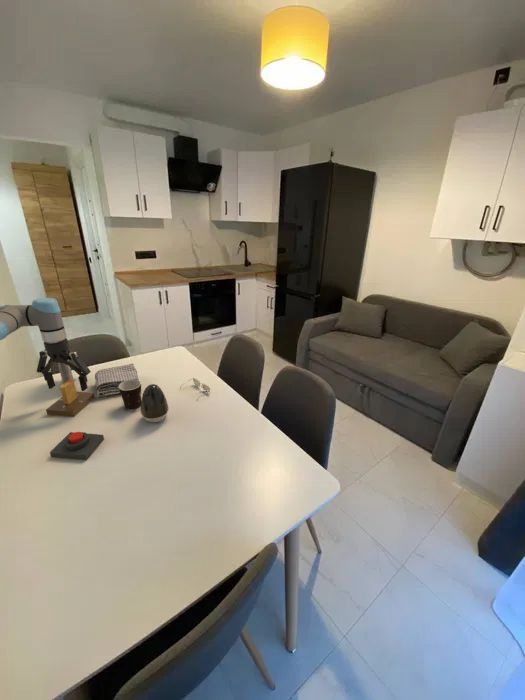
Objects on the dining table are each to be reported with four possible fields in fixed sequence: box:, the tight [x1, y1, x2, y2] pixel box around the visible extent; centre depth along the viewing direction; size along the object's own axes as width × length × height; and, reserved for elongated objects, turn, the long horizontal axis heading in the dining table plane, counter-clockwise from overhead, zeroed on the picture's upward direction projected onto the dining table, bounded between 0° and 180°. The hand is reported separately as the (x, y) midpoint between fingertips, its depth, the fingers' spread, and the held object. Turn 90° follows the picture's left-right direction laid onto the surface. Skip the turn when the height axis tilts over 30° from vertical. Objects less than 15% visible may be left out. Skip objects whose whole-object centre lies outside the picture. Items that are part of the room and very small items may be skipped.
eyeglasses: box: [179, 377, 211, 401], centre depth 133 cm, size 14×8×4 cm, turn 49°
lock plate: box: [45, 390, 96, 418], centre depth 120 cm, size 14×11×3 cm
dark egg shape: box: [140, 383, 170, 423], centre depth 112 cm, size 10×10×15 cm
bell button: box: [69, 431, 84, 444], centre depth 97 cm, size 4×4×2 cm
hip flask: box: [57, 359, 74, 385], centre depth 131 cm, size 16×4×20 cm, turn 33°
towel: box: [94, 363, 143, 398], centre depth 134 cm, size 15×18×8 cm
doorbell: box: [49, 431, 105, 461], centre depth 98 cm, size 12×10×4 cm
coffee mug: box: [118, 379, 142, 411], centre depth 119 cm, size 12×9×10 cm
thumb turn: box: [59, 379, 78, 404], centre depth 118 cm, size 6×2×8 cm, turn 176°
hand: (68, 388), depth 117 cm, fingers open, 13 cm apart
